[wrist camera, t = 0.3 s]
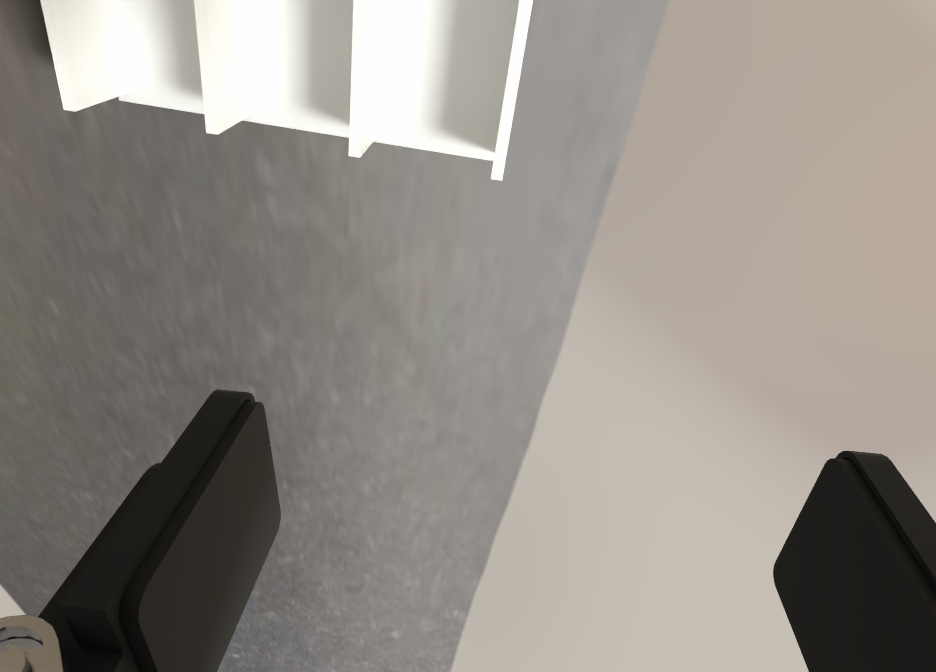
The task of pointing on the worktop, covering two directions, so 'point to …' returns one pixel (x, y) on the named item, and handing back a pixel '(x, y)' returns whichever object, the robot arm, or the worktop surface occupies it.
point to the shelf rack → (306, 65)
